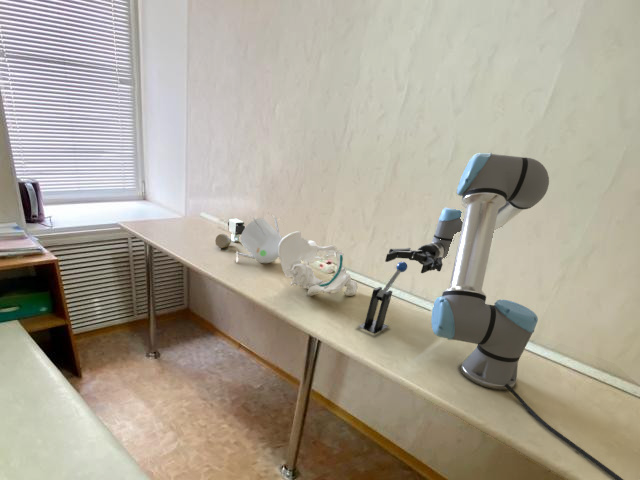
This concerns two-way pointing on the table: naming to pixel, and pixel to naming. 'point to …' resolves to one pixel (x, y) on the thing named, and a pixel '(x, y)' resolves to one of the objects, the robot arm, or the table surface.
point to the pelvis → (302, 249)
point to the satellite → (261, 240)
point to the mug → (222, 240)
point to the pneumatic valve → (236, 228)
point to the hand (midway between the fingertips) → (404, 263)
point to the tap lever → (392, 279)
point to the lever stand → (370, 322)
